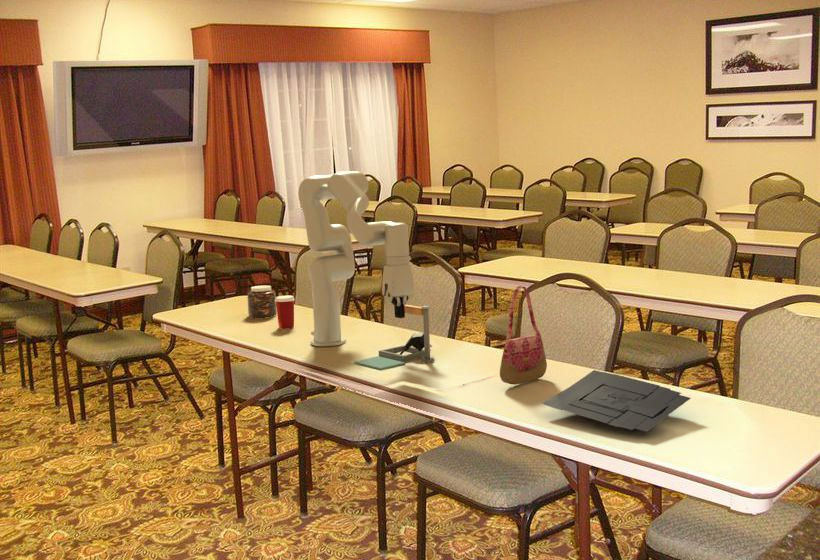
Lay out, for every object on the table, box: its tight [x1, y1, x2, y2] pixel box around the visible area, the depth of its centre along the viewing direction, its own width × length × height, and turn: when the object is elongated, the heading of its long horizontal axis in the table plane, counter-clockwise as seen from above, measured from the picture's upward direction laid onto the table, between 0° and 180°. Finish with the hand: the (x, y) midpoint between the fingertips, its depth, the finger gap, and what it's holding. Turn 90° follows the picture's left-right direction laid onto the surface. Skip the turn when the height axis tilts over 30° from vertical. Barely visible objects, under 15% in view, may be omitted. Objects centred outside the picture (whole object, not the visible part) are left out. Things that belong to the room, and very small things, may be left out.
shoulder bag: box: [499, 285, 548, 385], centre depth 250 cm, size 17×3×28 cm, turn 128°
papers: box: [541, 369, 692, 432], centre depth 221 cm, size 24×30×4 cm
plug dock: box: [378, 308, 435, 364], centre depth 286 cm, size 20×11×18 cm, turn 41°
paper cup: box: [275, 295, 295, 330], centre depth 340 cm, size 8×8×14 cm
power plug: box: [399, 331, 433, 355], centre depth 288 cm, size 6×8×12 cm
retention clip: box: [405, 304, 431, 317], centre depth 283 cm, size 15×3×5 cm, turn 41°
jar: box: [247, 285, 277, 319], centre depth 363 cm, size 12×12×15 cm
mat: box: [353, 355, 406, 371], centre depth 281 cm, size 14×10×1 cm
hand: (399, 317), depth 281 cm, fingers closed
